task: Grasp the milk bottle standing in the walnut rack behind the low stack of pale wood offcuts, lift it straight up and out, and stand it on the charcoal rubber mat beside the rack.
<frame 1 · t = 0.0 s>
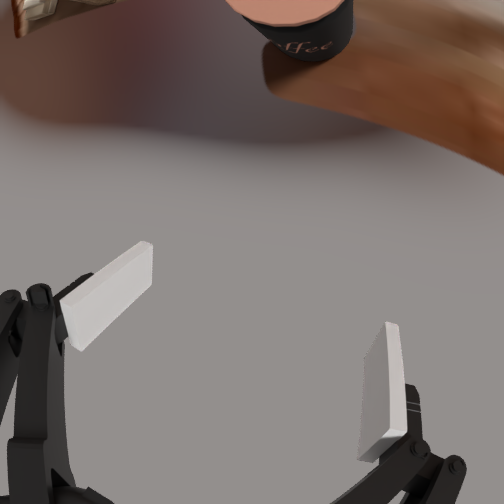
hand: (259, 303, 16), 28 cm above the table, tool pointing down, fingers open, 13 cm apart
coffee jar: (311, 27, 31), on the table
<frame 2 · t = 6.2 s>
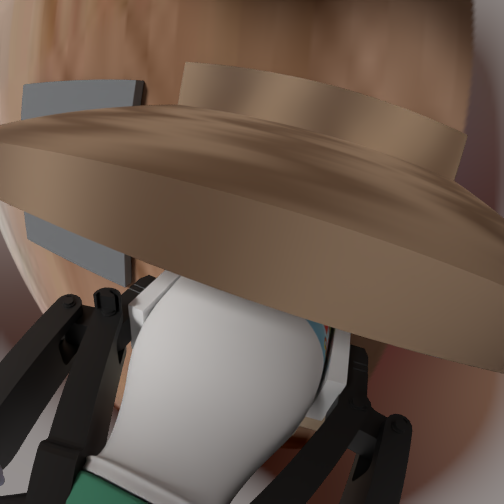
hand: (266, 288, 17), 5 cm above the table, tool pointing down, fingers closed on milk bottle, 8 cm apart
charcoal mat: (69, 174, 25), on the table
milk bottle: (285, 249, 22), on the table, touching gripper
offcut rack: (285, 250, 22), on the table
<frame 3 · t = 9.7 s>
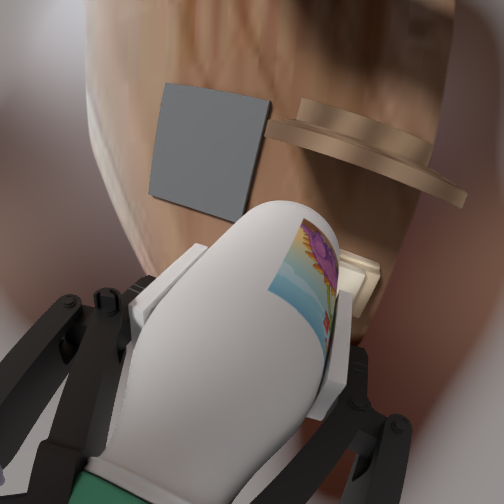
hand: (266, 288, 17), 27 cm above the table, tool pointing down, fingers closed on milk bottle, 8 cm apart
charcoal mat: (204, 149, 43), on the table
milk bottle: (286, 249, 22), point 21 cm above the table, touching gripper
offcut rack: (344, 199, 40), on the table
when the fingers open (8 cm above the table, at t = 13.7 s): milk bottle drops 1 cm, resting on charcoal mat.
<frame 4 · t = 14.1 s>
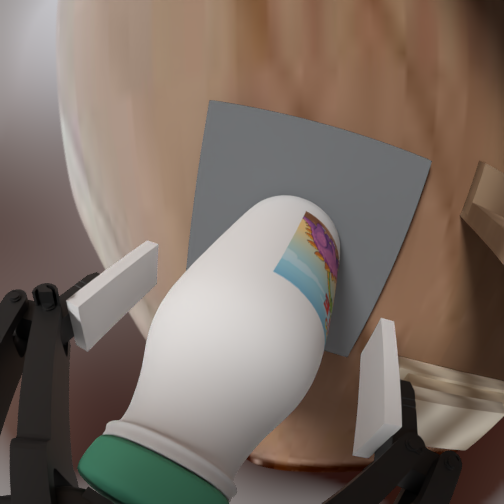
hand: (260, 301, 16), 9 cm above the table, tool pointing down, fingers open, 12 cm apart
charcoal mat: (291, 237, 24), on the table
milk bottle: (289, 242, 23), point 1 cm above the table, touching charcoal mat
offcut rack: (499, 318, 21), on the table
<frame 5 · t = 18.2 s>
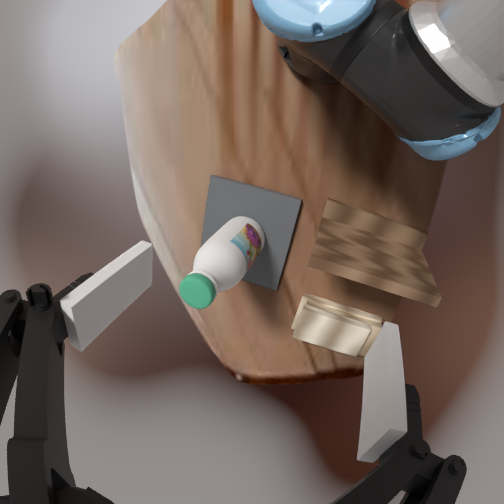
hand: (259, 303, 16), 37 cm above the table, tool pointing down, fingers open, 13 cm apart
charcoal mat: (246, 233, 56), on the table
milk bottle: (245, 235, 55), point 1 cm above the table, touching charcoal mat
offcut rack: (356, 273, 53), on the table
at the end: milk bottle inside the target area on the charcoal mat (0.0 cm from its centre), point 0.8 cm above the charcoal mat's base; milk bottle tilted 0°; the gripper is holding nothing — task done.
